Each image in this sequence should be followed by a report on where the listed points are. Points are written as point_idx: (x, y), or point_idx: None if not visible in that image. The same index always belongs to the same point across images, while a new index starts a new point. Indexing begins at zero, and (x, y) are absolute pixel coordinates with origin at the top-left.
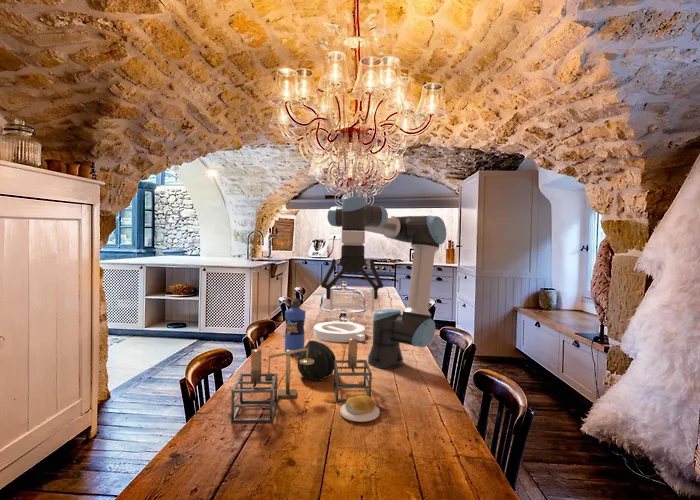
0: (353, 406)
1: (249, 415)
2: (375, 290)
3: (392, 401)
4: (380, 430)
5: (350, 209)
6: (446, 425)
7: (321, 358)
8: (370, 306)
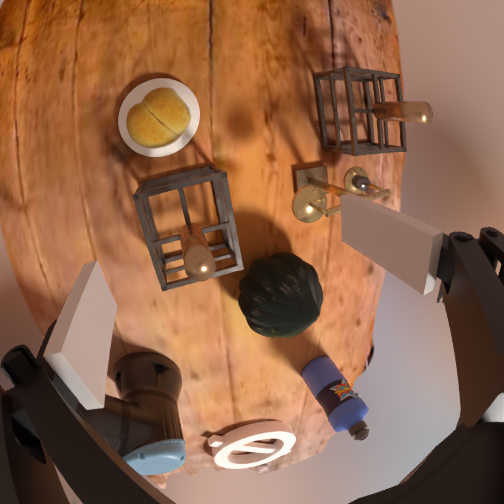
0: (171, 90)
1: None
2: (46, 368)
3: (97, 195)
4: (119, 67)
5: None
6: (13, 124)
7: (275, 277)
8: (115, 312)
